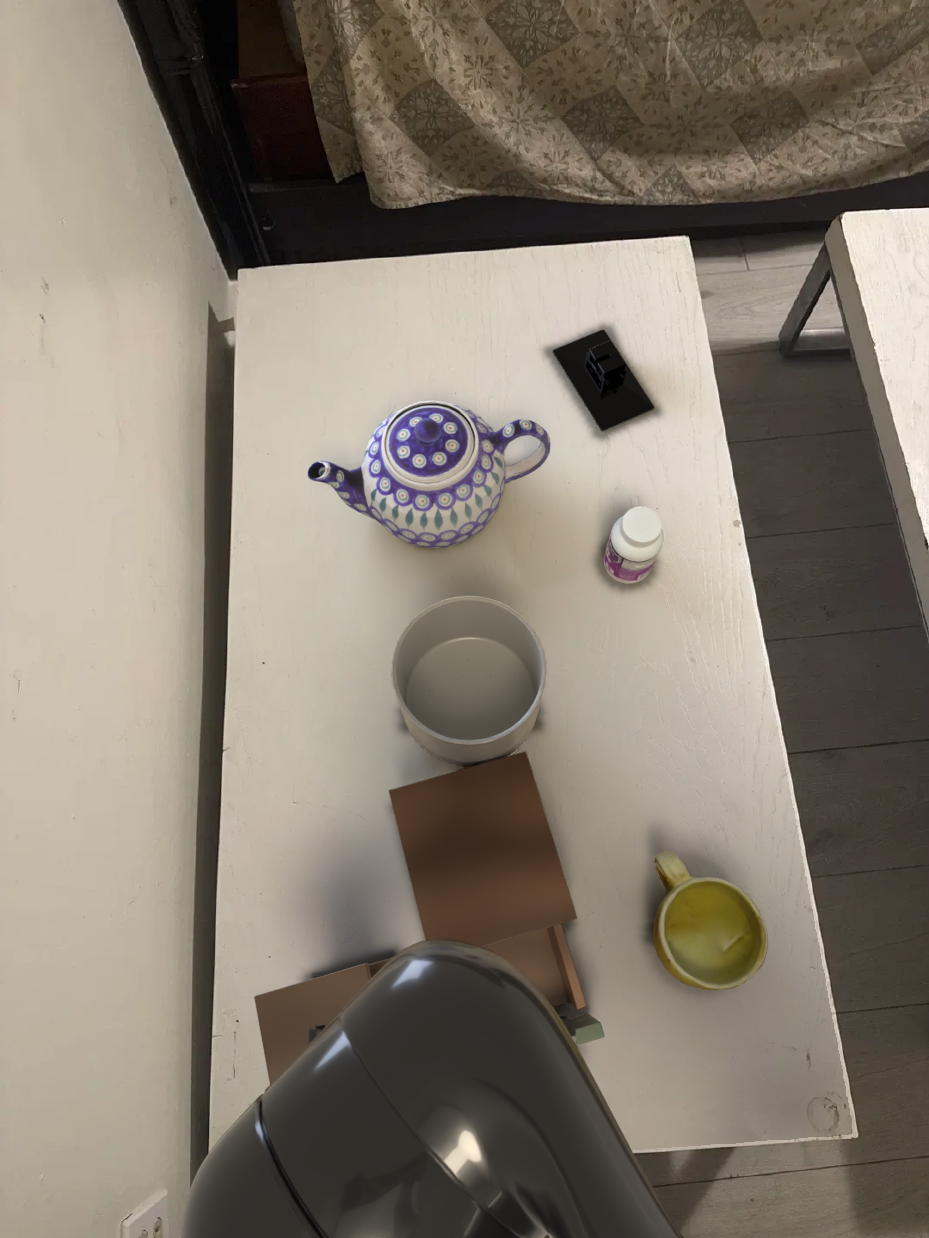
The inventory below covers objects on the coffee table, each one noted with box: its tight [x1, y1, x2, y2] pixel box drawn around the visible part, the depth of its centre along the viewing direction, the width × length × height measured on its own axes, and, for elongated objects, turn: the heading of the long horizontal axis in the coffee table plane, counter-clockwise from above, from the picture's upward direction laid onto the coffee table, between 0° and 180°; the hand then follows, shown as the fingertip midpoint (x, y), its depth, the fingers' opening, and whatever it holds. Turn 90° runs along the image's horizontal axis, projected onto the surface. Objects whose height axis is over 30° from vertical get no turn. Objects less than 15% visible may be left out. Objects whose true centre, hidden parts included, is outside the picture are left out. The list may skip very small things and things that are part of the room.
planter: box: [390, 595, 548, 769], centre depth 81 cm, size 13×13×18 cm
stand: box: [254, 956, 394, 1085], centre depth 70 cm, size 8×8×22 cm
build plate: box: [552, 329, 655, 433], centre depth 101 cm, size 12×7×5 cm, turn 25°
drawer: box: [484, 923, 606, 1046], centre depth 75 cm, size 18×11×9 cm, turn 16°
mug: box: [652, 850, 769, 991], centre depth 78 cm, size 12×10×10 cm
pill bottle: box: [603, 505, 665, 584], centre depth 90 cm, size 5×5×10 cm
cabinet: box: [388, 751, 578, 947], centre depth 79 cm, size 15×13×11 cm
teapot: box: [306, 399, 551, 549], centre depth 91 cm, size 25×15×15 cm, turn 99°
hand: (449, 1031), depth 53 cm, fingers closed on block, 5 cm apart
